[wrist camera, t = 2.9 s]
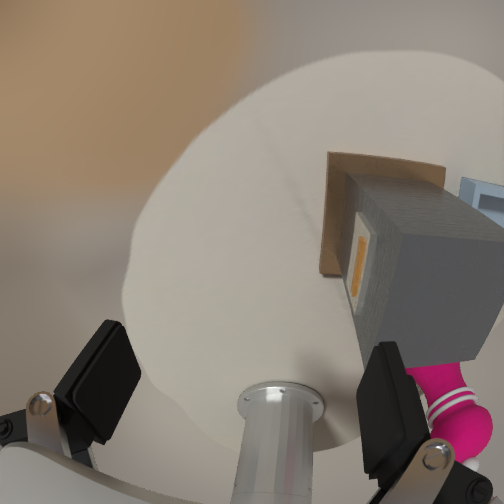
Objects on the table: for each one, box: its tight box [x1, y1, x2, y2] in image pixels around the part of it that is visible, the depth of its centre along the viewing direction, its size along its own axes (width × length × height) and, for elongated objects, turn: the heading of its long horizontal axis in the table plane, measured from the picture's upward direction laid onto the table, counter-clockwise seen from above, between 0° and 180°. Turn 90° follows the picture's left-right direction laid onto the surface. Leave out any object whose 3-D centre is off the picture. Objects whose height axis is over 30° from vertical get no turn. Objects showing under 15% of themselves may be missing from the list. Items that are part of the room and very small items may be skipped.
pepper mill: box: [405, 362, 493, 472], centre depth 20 cm, size 7×7×20 cm
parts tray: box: [459, 177, 504, 228], centre depth 22 cm, size 12×12×3 cm
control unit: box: [319, 151, 504, 370], centre depth 18 cm, size 11×11×14 cm
